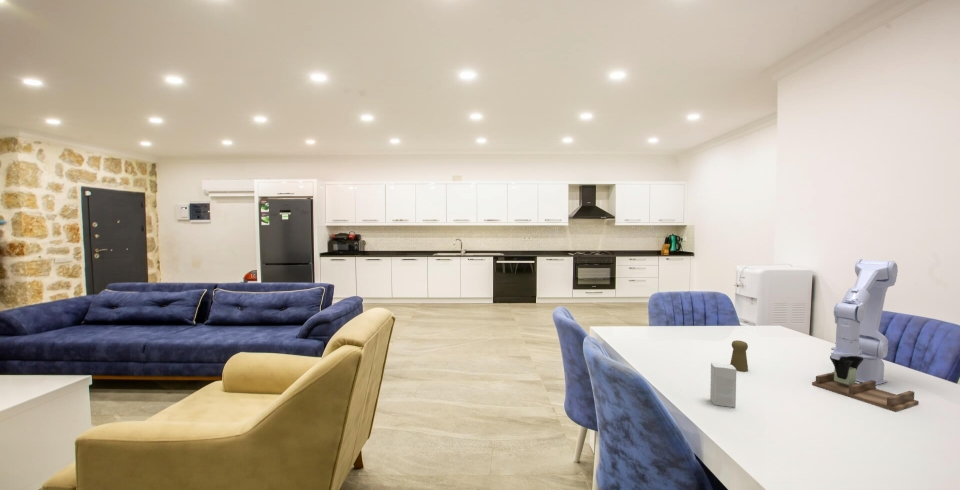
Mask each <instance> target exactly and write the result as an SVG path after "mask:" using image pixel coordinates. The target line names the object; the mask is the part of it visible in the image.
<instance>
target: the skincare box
mask: <svg viewBox="0 0 960 490" xmlns="http://www.w3.org/2000/svg"><path fill="white" fill-rule="evenodd" d="M709 391H710V395H709V396H710V398H709V399H710V402H711V404H712V405H713V406H720V407H721V406H722V407H727V408H728V407H729V408H736V406H737V404H736V400H737V371H736V368H735V367H734V366H733V365H730V364H728V363H727V364H726V363H718V362H710V390H709Z"/></svg>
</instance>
